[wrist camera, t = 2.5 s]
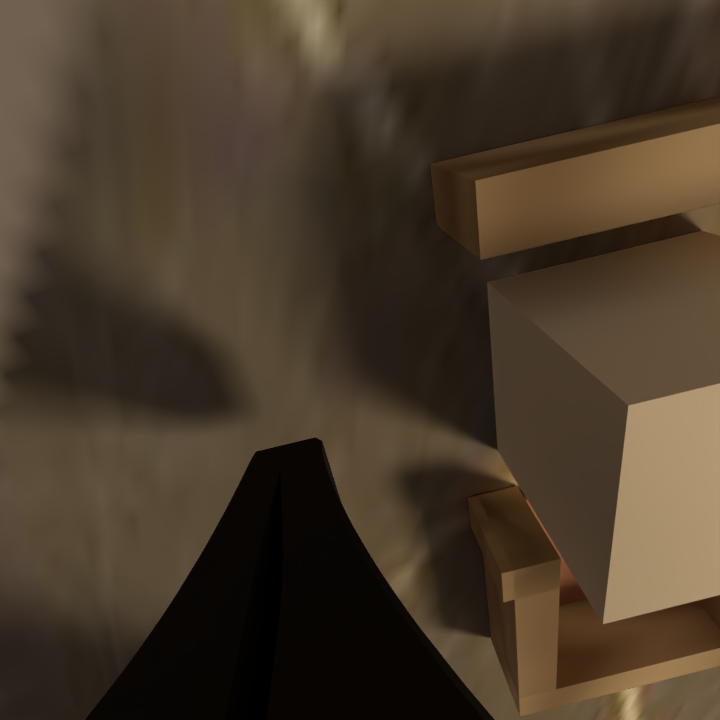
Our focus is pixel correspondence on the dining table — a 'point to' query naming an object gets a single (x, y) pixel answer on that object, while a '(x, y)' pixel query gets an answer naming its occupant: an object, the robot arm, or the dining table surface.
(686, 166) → the trap lane
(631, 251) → the ivory block
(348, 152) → the dining table surface
